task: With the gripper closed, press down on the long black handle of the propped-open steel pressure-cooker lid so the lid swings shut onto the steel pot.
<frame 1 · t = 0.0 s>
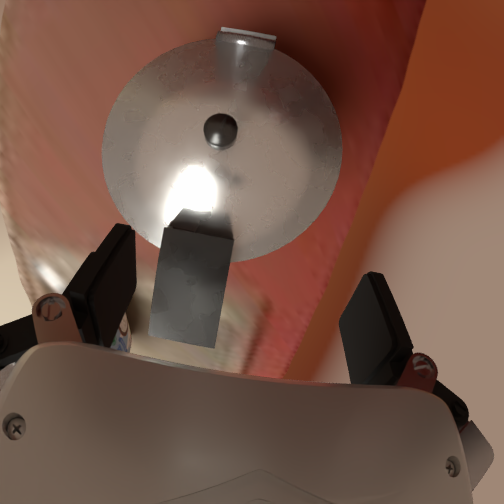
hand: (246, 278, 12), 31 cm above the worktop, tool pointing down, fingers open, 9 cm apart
pouch: (121, 307, 58), on the worktop
cooker lid: (213, 167, 21), point 20 cm above the worktop, hinge at 32.0°
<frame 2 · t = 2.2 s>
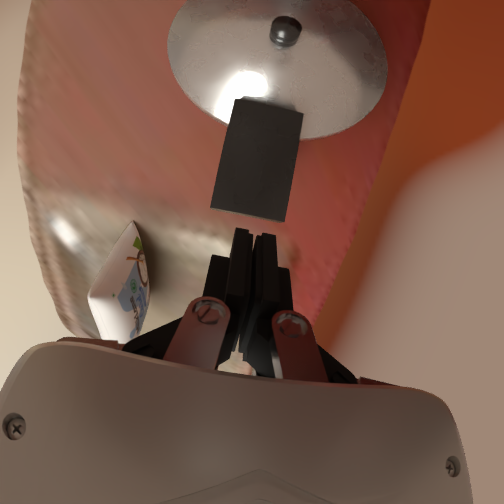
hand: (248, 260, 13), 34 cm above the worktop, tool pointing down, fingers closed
pouch: (140, 261, 57), on the worktop
cooker lid: (279, 57, 20), point 20 cm above the worktop, hinge at 32.0°
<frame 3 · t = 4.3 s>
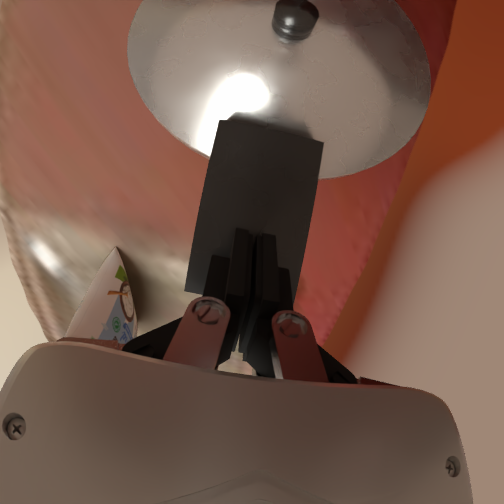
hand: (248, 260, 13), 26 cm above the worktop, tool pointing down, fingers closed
pouch: (126, 289, 51), on the worktop
cooker lid: (286, 55, 14), point 19 cm above the worktop, hinge at 31.4°, touching gripper
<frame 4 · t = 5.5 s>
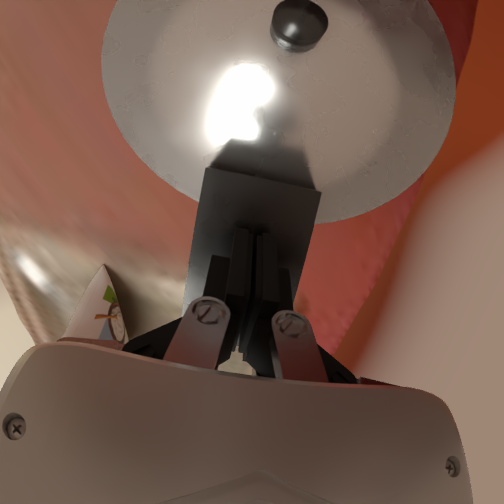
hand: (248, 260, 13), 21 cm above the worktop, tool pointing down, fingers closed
pouch: (117, 307, 47), on the worktop
cooker lid: (285, 76, 12), point 17 cm above the worktop, hinge at 19.9°
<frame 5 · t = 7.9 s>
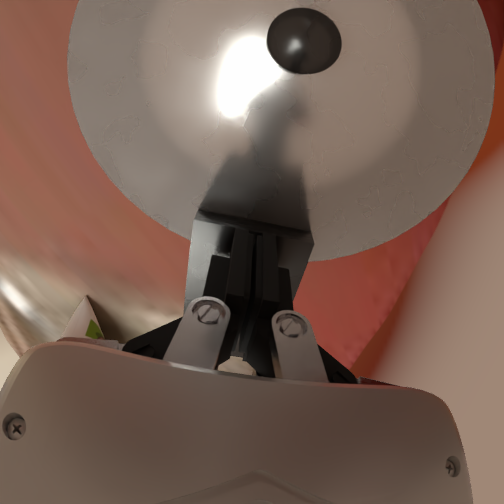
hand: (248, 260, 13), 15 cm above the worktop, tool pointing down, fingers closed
pouch: (104, 338, 41), on the worktop
cooker lid: (283, 109, 10), point 14 cm above the worktop, hinge at 2.7°, touching gripper
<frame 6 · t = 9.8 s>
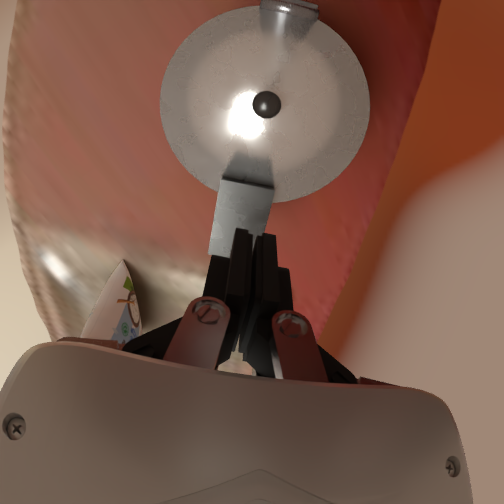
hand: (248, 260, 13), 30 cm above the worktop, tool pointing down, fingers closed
pouch: (132, 298, 56), on the worktop
cooker lid: (259, 132, 25), point 14 cm above the worktop, hinge at 2.6°
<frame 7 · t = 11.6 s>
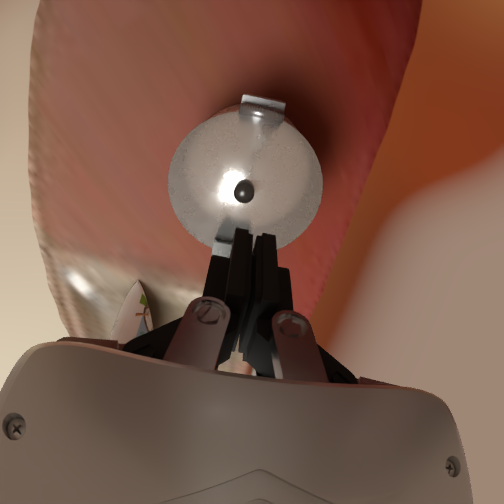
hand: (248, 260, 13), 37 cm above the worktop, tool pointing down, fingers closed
pouch: (145, 309, 68), on the worktop
cooker lid: (240, 209, 37), point 14 cm above the worktop, hinge at 2.6°
cooker pot: (248, 157, 47), on the worktop
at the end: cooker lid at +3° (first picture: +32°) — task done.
